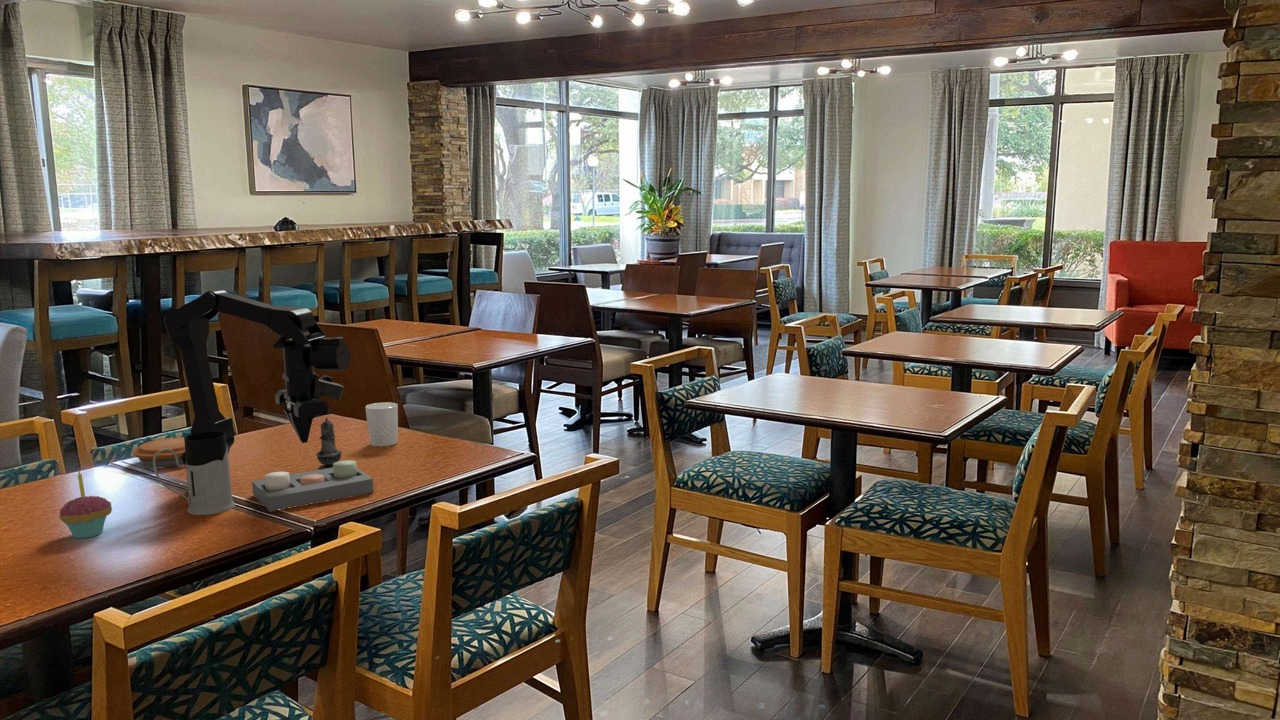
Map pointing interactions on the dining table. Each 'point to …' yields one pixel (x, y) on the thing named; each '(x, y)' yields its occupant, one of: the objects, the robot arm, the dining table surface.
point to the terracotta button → (311, 479)
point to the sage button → (344, 469)
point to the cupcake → (85, 513)
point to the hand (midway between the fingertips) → (304, 442)
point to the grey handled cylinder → (205, 473)
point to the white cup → (382, 423)
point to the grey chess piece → (328, 446)
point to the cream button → (277, 481)
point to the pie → (164, 457)
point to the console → (312, 490)
